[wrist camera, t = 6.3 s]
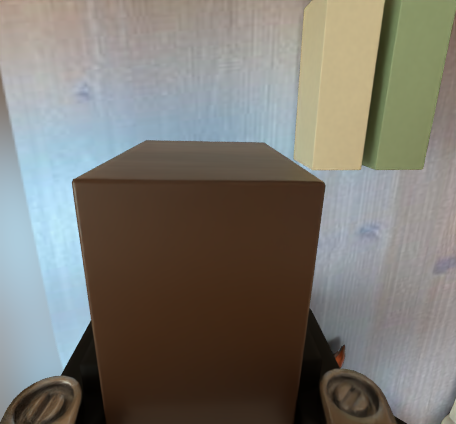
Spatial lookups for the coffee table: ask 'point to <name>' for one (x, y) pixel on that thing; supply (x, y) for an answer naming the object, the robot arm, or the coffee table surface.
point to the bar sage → (407, 82)
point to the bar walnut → (199, 280)
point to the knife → (451, 416)
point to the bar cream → (336, 82)
